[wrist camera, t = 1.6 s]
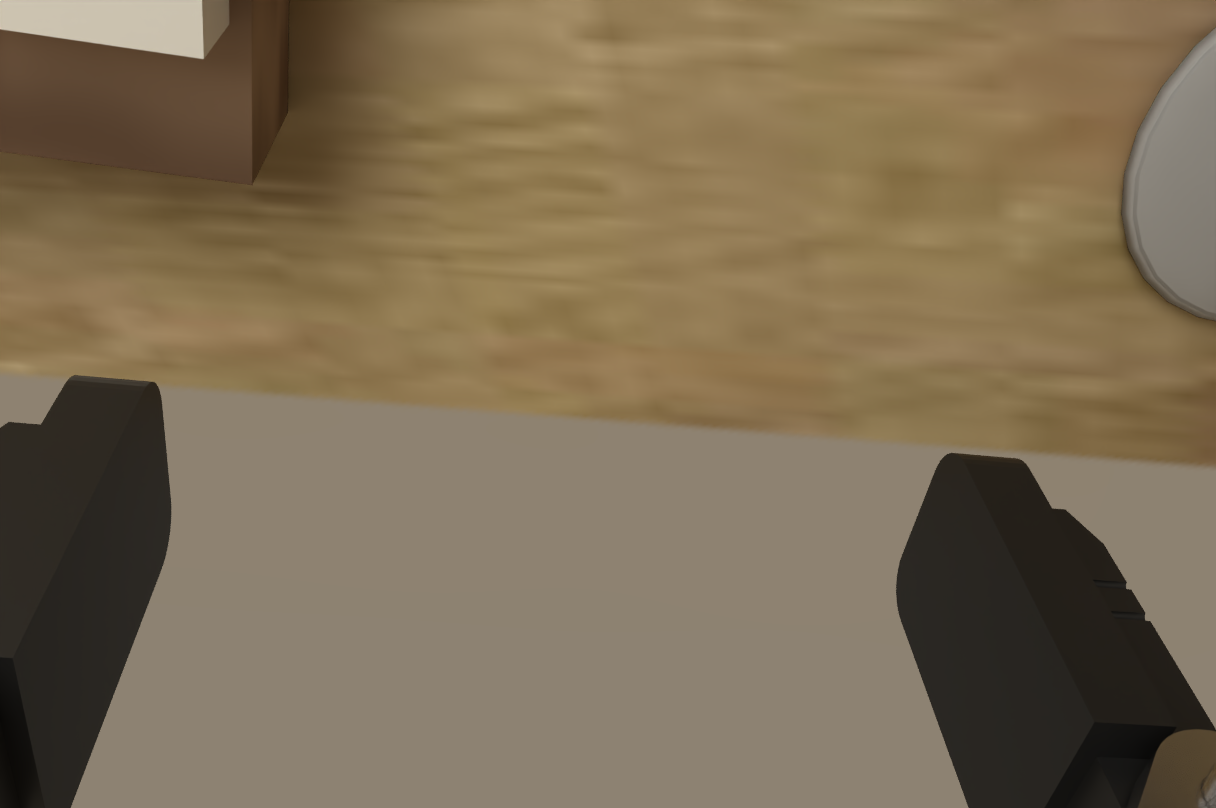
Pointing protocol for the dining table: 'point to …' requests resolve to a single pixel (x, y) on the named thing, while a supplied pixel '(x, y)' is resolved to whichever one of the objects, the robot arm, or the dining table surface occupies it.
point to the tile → (123, 22)
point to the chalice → (1177, 186)
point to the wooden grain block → (151, 99)
